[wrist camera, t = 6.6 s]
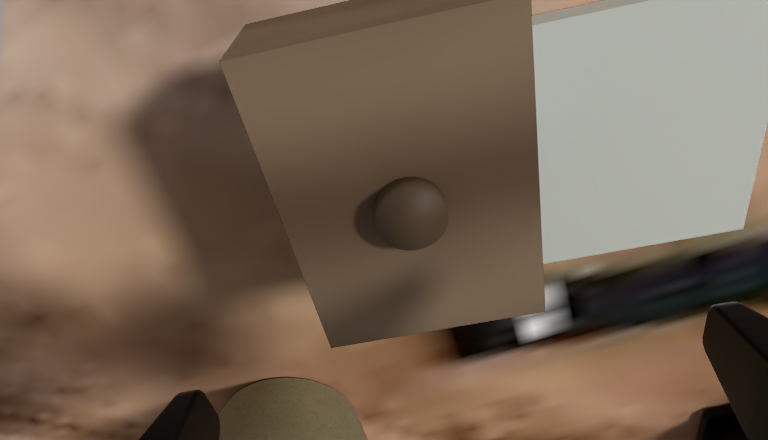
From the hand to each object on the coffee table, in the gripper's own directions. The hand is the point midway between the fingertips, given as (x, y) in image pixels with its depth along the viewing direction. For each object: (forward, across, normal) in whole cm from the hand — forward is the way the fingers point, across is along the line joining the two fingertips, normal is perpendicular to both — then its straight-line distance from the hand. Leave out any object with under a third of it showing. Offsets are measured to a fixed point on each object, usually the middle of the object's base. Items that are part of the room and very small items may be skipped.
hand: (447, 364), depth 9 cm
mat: (+12, -8, +3) cm, 14 cm away
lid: (+8, 0, 0) cm, 8 cm away
